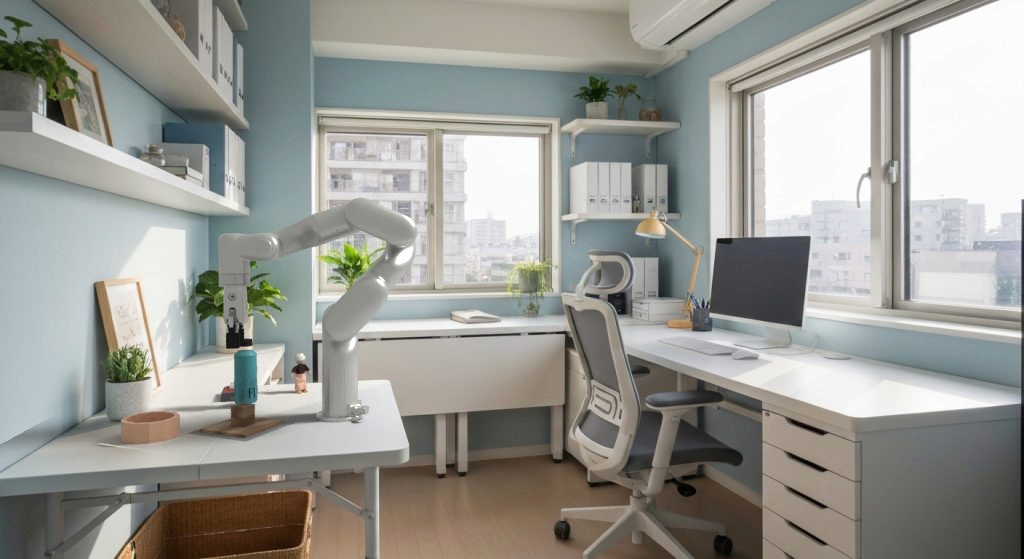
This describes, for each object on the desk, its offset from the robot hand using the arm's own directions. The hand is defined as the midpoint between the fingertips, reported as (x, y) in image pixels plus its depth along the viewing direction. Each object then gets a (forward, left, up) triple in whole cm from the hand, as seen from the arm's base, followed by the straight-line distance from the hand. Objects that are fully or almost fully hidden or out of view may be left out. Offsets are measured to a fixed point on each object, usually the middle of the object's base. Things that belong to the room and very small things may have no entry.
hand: (235, 345), depth 167 cm
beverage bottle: (+10, -15, -21) cm, 28 cm away
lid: (-6, +4, -20) cm, 21 cm away
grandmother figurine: (+8, -37, -21) cm, 43 cm away
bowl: (+9, +18, -21) cm, 29 cm away
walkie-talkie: (+24, -27, -21) cm, 41 cm away
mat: (-6, +4, -21) cm, 22 cm away
